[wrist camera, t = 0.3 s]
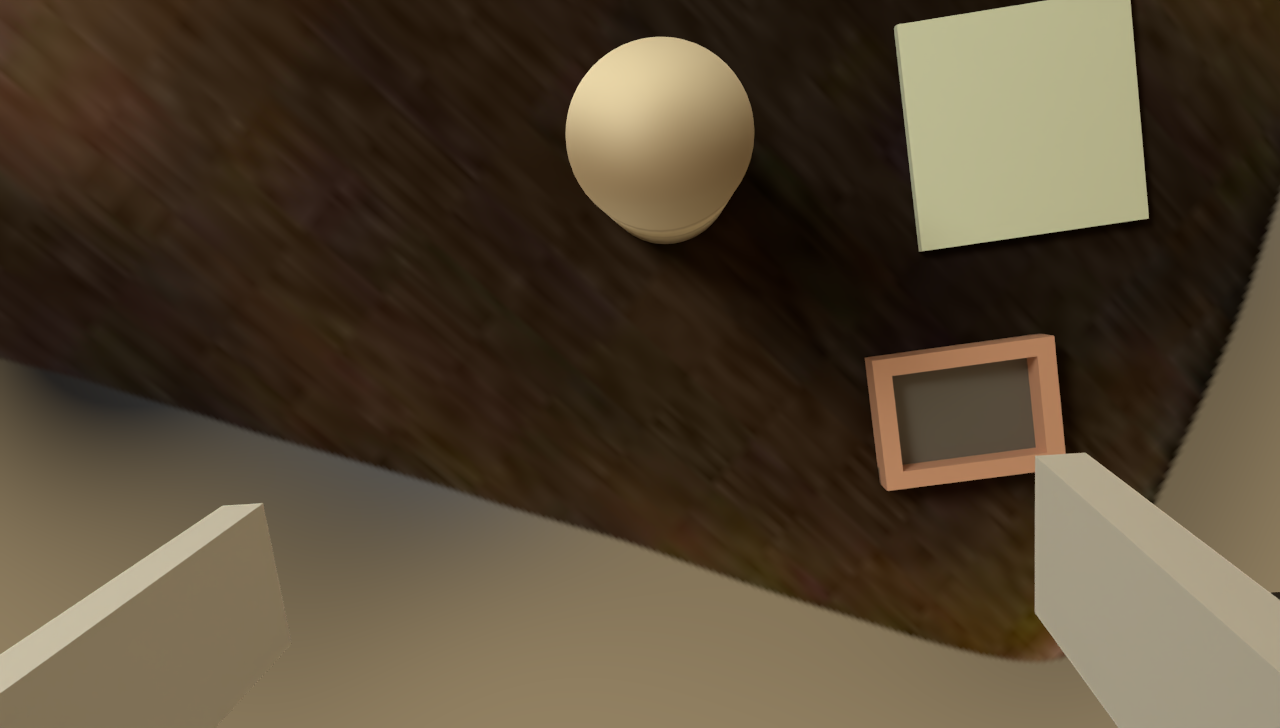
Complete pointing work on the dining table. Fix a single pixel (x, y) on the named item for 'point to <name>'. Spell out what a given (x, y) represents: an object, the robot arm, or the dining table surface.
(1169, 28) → the dining table surface
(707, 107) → the birch canister
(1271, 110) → the dining table surface
